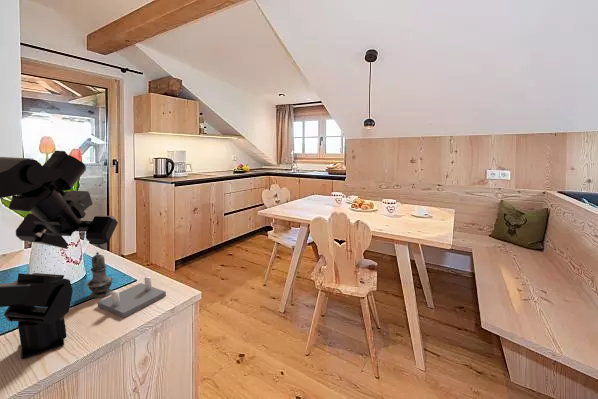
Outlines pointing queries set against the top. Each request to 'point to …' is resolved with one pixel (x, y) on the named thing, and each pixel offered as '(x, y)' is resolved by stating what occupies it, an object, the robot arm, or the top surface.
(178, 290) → the top surface
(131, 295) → the pin tray
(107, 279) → the grey tall turned piece
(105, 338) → the top surface
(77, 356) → the top surface
